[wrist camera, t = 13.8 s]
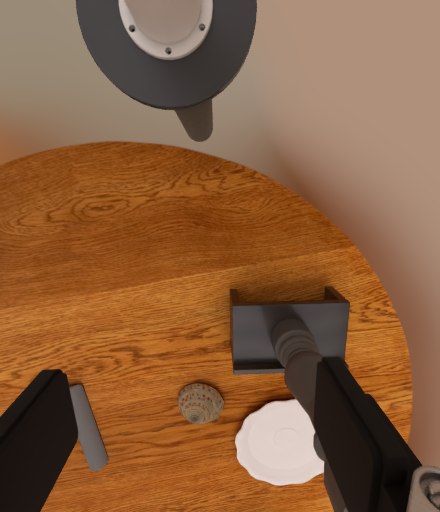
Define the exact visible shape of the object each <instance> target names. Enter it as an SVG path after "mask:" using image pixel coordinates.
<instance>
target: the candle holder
mask: <svg viewBox="0 0 440 512" xmlns="http://www.w3.org/2000/svg"><path fill="white" fill-rule="evenodd" d="M271 343H272V346H273V349H274V352H275V354H276V356H277V358H278V360H279V361H280V362H281V364H282V366H283V367H285V382H286V385H287V387H288V389H289V391H290V392H291V393H292V395H293V396H294V397H295V398H296V400H297V401H298V402H299V404H300V405H301V406H302V408H303V409H304V410H305V412H306V413H307V414H308V416H309V418H310V420H311V423H312V425H313V427H314V403H315V387H316V371H317V362H320V361H321V360H322V358H323V357H324V356H322V355H321V354H319V349H318V347H317V343H316V341H315V338H314V336H313V335H312V333H311V332H310V330H309V329H308V327H307V326H306V325H305V324H304V323H303V322H302V321H300V320H297V319H286V320H283V321H281V322H279V323H278V324H277V325H276V326H275V327H274V328H273V330H272V332H271ZM314 430H315V427H314ZM313 447H314V450H315V452H316V454H317V456H318V457H319V458H320V459H321V460H322V461H324V484H325V487H326V490H327V493H328V495H329V498H330V501H331V504H332V506H333V509H334V512H348V510H347V508H346V505H345V503H344V500H343V498H342V495H341V493H340V490H339V488H338V485H337V483H336V480H335V478H334V476H333V473H332V471H331V468H330V466H329V463H328V461H327V458H326V456H325V453H324V451H323V448H322V446H321V443H320V441H319V438H318V436H317V433H316V431H315V434H314V438H313Z"/></svg>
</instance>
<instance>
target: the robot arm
mask: <svg viewBox="0 0 440 512" xmlns="http://www.w3.org/2000/svg"><path fill="white" fill-rule="evenodd" d="M119 10H120V15H121V18H122V21H123V24H124V26H125V28H126V30H127V32H128V34H129V36H130V37H131V39H132V40H133V42H134V43H135V44H136V45H137V46H138V47H139V48H140V49H141V50H143V51H144V52H145V53H147V54H148V55H151V56H153V57H155V58H158V59H162V60H176V59H181V58H183V57H185V56H188V55H189V54H191V53H192V52H194V51H195V50H196V49H197V48H198V47H199V46H200V45H201V44H202V42H203V41H204V39H205V37H206V36H207V33H208V31H209V28H210V25H211V21H212V13H213V1H212V0H119ZM201 29H204V31H201ZM133 30H135V31H134V32H132V31H133ZM168 52H171V54H169V55H168ZM314 427H315V431H316V433H317V436H318V438H319V441H320V443H321V446H322V448H323V451H324V453H325V456H326V458H327V461H328V463H329V466H330V468H331V471H332V473H333V476H334V478H335V480H336V483H337V485H338V488H339V490H340V493H341V495H342V498H343V500H344V503H345V505H346V508H347V510H348V512H440V468H439V467H435V466H422V464H421V463H420V461H419V460H418V459H417V457H416V456H415V455H414V453H413V452H412V450H411V449H410V448H409V446H408V445H407V444H406V442H405V441H404V439H403V438H402V437H401V435H400V434H399V433H398V431H397V430H396V428H395V427H394V426H393V424H392V423H391V422H390V420H389V419H388V417H387V416H386V415H385V413H384V412H383V411H382V409H381V408H380V406H379V405H378V404H377V402H376V401H375V400H374V398H373V397H372V396H371V395H369V394H365V393H364V392H363V390H362V389H361V387H360V386H359V384H358V383H357V382H356V380H355V379H354V377H353V376H352V374H351V373H350V372H349V370H348V369H347V367H346V366H345V364H344V363H343V362H342V360H341V359H340V358H339V357H323V358H322V360H321V361H320V362H317V371H316V387H315V403H314ZM77 439H78V427H77V422H76V417H75V412H74V407H73V403H72V398H71V393H70V388H69V384H68V379H67V375H66V374H65V373H63V372H62V371H61V370H60V369H52V370H42V371H41V372H40V373H39V374H38V375H37V376H36V378H35V379H34V380H33V381H32V382H31V383H30V384H29V385H28V387H27V388H26V389H25V390H24V391H23V392H22V393H21V394H20V395H19V397H18V398H17V399H16V400H15V401H14V402H13V403H12V404H11V405H10V407H9V408H8V409H7V410H6V411H5V412H4V413H3V414H2V416H1V417H0V512H40V511H41V509H42V507H43V505H44V504H45V502H46V500H47V498H48V496H49V494H50V492H51V490H52V488H53V486H54V484H55V482H56V480H57V479H58V477H59V475H60V473H61V471H62V469H63V467H64V465H65V463H66V461H67V459H68V457H69V456H70V454H71V452H72V450H73V448H74V446H75V444H76V442H77Z"/></svg>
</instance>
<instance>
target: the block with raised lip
mask: <svg viewBox="0 0 440 512" xmlns="http://www.w3.org/2000/svg"><path fill="white" fill-rule="evenodd" d="M349 308H350V302H349V301H348V300H346V299H345V298H344V297H343V296H342V295H341V294H340V293H339V292H338V291H336V290H335V289H334V288H333V287H325V298H324V300H316V301H282V302H249V303H239V299H238V294H237V289H231V290H230V330H231V353H232V363H233V372H234V374H264V373H285V367H283V366H282V364H281V362H280V361H279V360H278V358H277V356H276V354H275V352H274V349H273V346H272V343H271V332H272V330H273V328H274V327H275V326H276V325H277V324H278V323H279V322H281V321H283V320H286V319H297V320H300V321H302V322H303V323H304V324H305V325H306V326H307V327H308V329H309V330H310V332H311V333H312V335H313V336H314V338H315V341H316V343H317V347H318V349H319V354H321V355H322V356H324V357H339V358H340V359H341V360H342V362H343V363H344V364H345V366H346V367H347V369H349V366H348V365H347V363H346V362H345V361H344V360H345V350H346V339H347V329H348V318H349Z"/></svg>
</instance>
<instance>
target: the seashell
mask: <svg viewBox="0 0 440 512" xmlns="http://www.w3.org/2000/svg"><path fill="white" fill-rule="evenodd" d="M178 407H179V410H180V412H181V413H182V415H183V416H184V417H185V418H186V419H187V420H188V421H189V422H191V423H194V424H205V423H207V422H210V421H213V420H215V419H217V418H218V417H219V415H220V411H221V410H222V409H223V407H224V402H223V399H222V398H221V395H220V394H219V392H218V391H217V390H215V389H214V388H212V387H211V386H208V385H205V384H200V383H195V384H190V385H187V386H185V387H184V388H183V389H182V390H181V391H180V393H179V395H178Z"/></svg>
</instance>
